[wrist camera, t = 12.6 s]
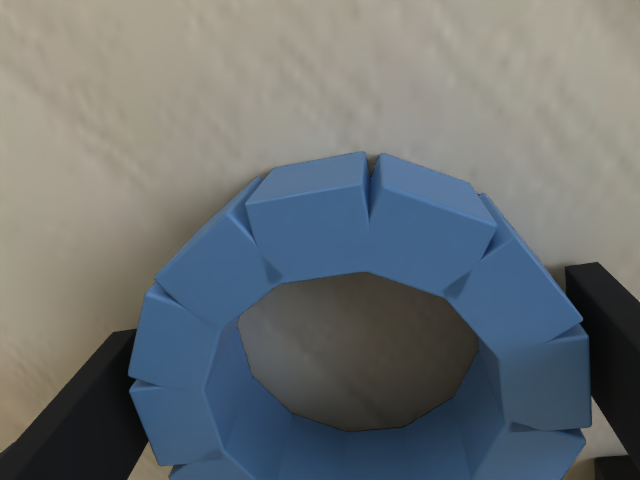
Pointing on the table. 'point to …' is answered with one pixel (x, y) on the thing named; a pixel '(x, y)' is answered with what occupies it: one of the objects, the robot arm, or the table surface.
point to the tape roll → (385, 261)
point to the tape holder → (616, 468)
